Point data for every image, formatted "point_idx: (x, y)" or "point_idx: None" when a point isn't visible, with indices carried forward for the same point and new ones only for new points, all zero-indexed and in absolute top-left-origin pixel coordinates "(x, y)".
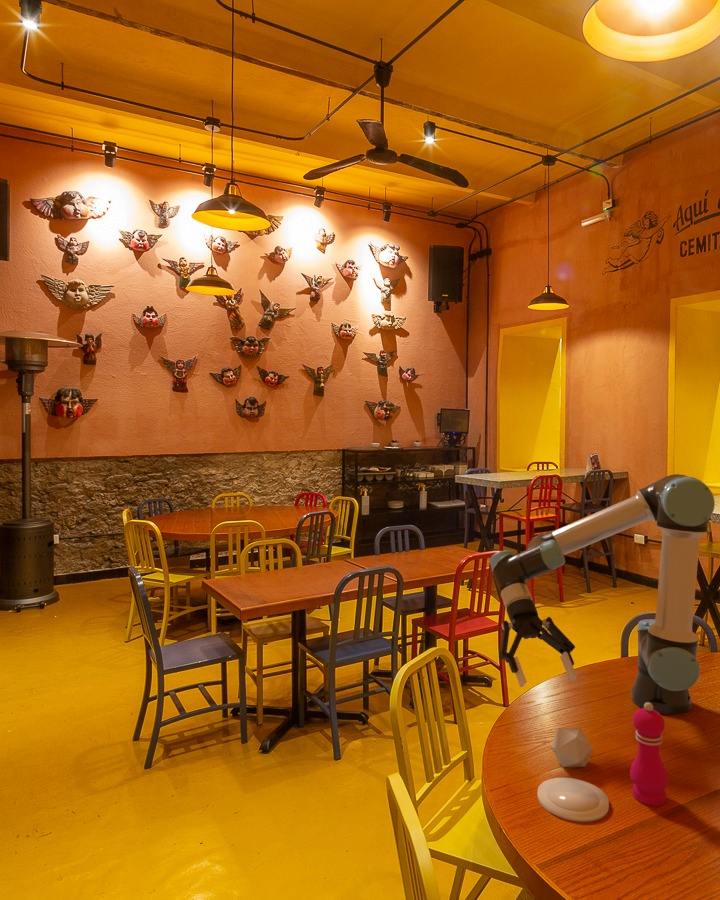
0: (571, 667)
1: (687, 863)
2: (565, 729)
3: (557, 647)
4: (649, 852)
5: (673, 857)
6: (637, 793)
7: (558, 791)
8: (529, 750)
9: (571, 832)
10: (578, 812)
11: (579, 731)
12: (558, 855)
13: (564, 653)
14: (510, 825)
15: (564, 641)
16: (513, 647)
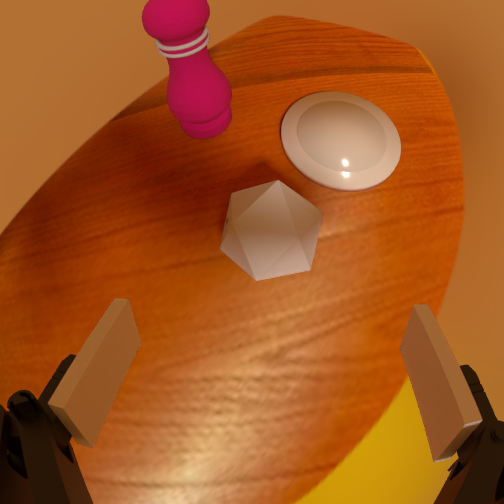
0: (102, 331)
1: (265, 33)
2: (281, 225)
3: (71, 475)
4: (295, 48)
5: (274, 40)
6: (229, 108)
7: (362, 148)
8: (337, 328)
9: (375, 90)
10: (353, 102)
11: (246, 208)
12: (405, 72)
13: (68, 404)
14: (450, 127)
15: (4, 466)
16: (485, 490)
